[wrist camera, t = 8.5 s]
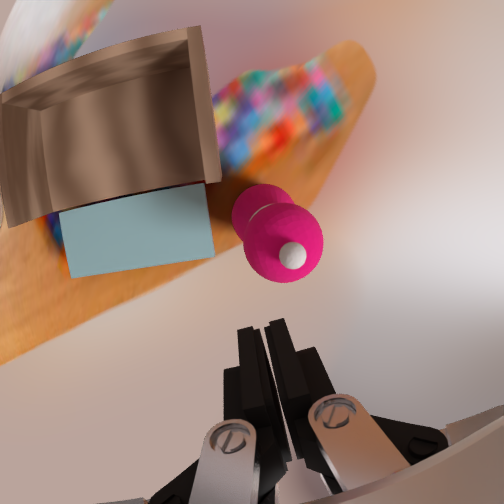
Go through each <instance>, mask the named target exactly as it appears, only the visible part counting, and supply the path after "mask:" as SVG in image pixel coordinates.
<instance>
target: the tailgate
mask: <svg viewBox="0 0 504 504" xmlns="http://www.w3.org/2000/svg"><path fill="white" fill-rule="evenodd" d="M59 218H60V224H61V230H62V236H63V241H64V246H65V251H66V256H67V261H68V266H69V270H70V274H71V278H77V277H84V276H91V275H97V274H104V273H110V272H117V271H124V270H130V269H137V268H144V267H150V266H157V265H163V264H170V263H177V262H183V261H190V260H197V259H203V258H210V257H215V250H214V243H213V237H212V231H211V224H210V218H209V211H208V204H207V198H206V191H205V184H204V183H200V184H194V185H188V186H182V187H177V188H171V189H166V190H160V191H155V192H150V193H145V194H140V195H135V196H130V197H125V198H121V199H116V200H111V201H107V202H103V203H98V204H94V205H90V206H85V207H81V208H77V209H73V210H69V211H65V212H61V213H59Z"/></svg>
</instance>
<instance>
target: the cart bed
mask: <svg viewBox="0 0 504 504" xmlns="http://www.w3.org/2000/svg"><path fill="white" fill-rule="evenodd" d="M221 179H222V170H221V163H220V156H219V149H218V142H217V134H216V127H215V119H214V112H213V104H212V97H211V89H210V82H209V74H208V66H207V60H206V55H205V49H204V43H203V37H202V31H201V26H195V27H188V28H183V29H177V30H172V31H168V32H163V33H158V34H154V35H150V36H145V37H141V38H137V39H134V40H130V41H127V42H123V43H120V44H116V45H113V46H110V47H107V48H103V49H100V50H97V51H95V52H92V53H89V54H86V55H83V56H81V57H78V58H75V59H73V60H70V61H68V62H65V63H63V64H60V65H58V66H56V67H53V68H51V69H49V70H47V71H44V72H42V73H40V74H38V75H36V76H34V77H32V78H30V79H28V80H26V81H24V82H22V83H20V84H18V85H16V86H14V87H12V88H10V89H9V90H7V91H5V92H3V93H1V94H0V185H1V192H2V198H3V204H4V209H5V214H6V219H7V224H8V228H11V227H15V226H18V225H20V224H23V223H25V222H28V221H30V220H33V219H36V218H38V217H41V216H44V215H46V214H49V213H52V212H55V211H59V210H63V209H67V208H71V207H75V206H79V205H83V204H87V203H91V202H95V201H100V200H104V199H108V198H113V197H117V196H122V195H127V194H131V193H136V192H141V191H146V190H151V189H156V188H161V187H167V186H172V185H178V184H183V183H189V182H195V181H201V180H206V184H208V183H215V182H221Z"/></svg>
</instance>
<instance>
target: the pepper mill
mask: <svg viewBox="0 0 504 504" xmlns="http://www.w3.org/2000/svg"><path fill="white" fill-rule="evenodd" d="M232 224H233V227H234V229H235V231H236V233H237V235H238V236H239V238H240V239H241V240H242V241H243V246H244V252H245V255H246V258H247V260H248V262H249V264H250V265H251V267H252V268H253V269H254V270H255V271H256V272H257V273H258V274H259V275H261V276H262V277H264V278H265V279H268V280H270V281H274V282H279V283H288V282H293V281H296V280H299V279H301V278H303V277H305V276H306V275H308V274H309V273H310V272H311V271H312V270H313V269H314V268H315V267H316V265H317V264H318V262H319V260H320V258H321V255H322V251H323V235H322V230H321V228H320V226H319V223H318V222H317V220H316V219H315V218H314V216H312V214H310V212H309V211H307V210H306V209H304V208H302V207H300V206H298V205H295V204H294V202H293V200H292V199H291V197H290V196H289V195H288V194H287V193H286V192H285V191H284V190H282V189H281V188H279V187H277V186H274V185H270V184H259V185H255V186H252V187H250V188H248V189H246V190H245V191H244V192H242V193H241V194H240V196H239V197H238V198H237V200H236V201H235V203H234V206H233V210H232Z"/></svg>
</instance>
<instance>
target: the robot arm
mask: <svg viewBox="0 0 504 504" xmlns="http://www.w3.org/2000/svg"><path fill="white" fill-rule="evenodd" d="M2 214H3V209H2V198H1V194H0V227H1V223H2ZM269 324H270V326H267V327H264V330H265V334H266V339H267V343H268V348H269V353H270V357H271V362H272V366H273V371H274V375H275V380H276V384H277V388H276V385H275V381H274V378H273V375H272V371H271V367H270V364H269V360H268V357H267V353H266V350H265V346H264V343H263V340H262V336H261V333H260V329H256V330H254V329H253V327H252V326H251V327H247V328H243V329H239V330H237V332H238V349H239V364H240V366H237V367H233V368H229V369H224V421H223V422H221V423H218V424H216V425H215V426H213V427H212V428H211V429H210V430H209V431H208V433H207V434H206V436H205V438H204V442H203V447H202V450H201V455H200V458H199V459H198V460H197V461H195V462H194V463H193V464H192V465H191V466H189V467H188V468H187V469H186V470H184V471H183V472H182V473H181V474H180V475H178V476H177V477H176V478H175V479H173V480H172V481H171V482H170V483H168V484H167V485H166V486H164V487H163V488H162V489H160V490H159V491H158V492H157V493H155V494H154V495H153V496H152V497H151V499H148V500H145V499H144V498H137V499H131V500H124V501H117V502H108V503H99V504H279V484H278V481H279V480H280V479H281V478H282V477H283V476H284V475H285V473H286V471H288V469H287V465H286V462H290V461H292V457H291V452H290V448H289V443H288V439H287V434H286V430H285V425H284V421H283V416H282V411H281V406H280V402H279V398H280V401H281V405H282V409H283V412H284V416H285V419H286V423H287V426H288V429H289V432H290V436H291V439H292V443H293V446H294V449H295V452H296V456H297V459H302V458H304V459H305V463H306V467H307V468H309V469H311V470H313V471H316V472H319V473H320V476H321V478H322V480H323V482H324V484H325V486H326V488H327V489H328V492H329V493H330V495H331V496H328V497H325V498H321V499H318V500H314V501H310V502H306V503H302V504H504V405H501V406H497V407H494V408H492V409H489V410H487V411H484V412H481V413H479V414H476V415H474V416H471V417H468V418H465V419H462V420H459V421H456V422H453V423H450V424H447V425H446V426H445V428H444V429H441V430H438V429H434V428H431V427H426V426H420V425H415V424H410V423H405V422H400V421H395V420H390V419H386V418H381V417H377V416H373V415H369V413H368V412H367V411H366V410H365V408H364V407H363V406H362V404H361V403H360V402H359V401H358V400H357V399H356V398H354V397H352V396H350V395H347V394H336V392H335V390H334V388H333V386H332V383H331V381H330V379H329V377H328V374H327V372H326V370H325V368H324V365H323V363H322V361H321V359H320V357H319V354H318V352H317V350H316V348H315V347H311V348H307V349H304V350H300V351H297V352H296V351H295V349H294V346H293V343H292V340H291V337H290V335H289V331H288V329H287V326H286V323H285V320H284V318H282V319H278V320H274V321H271V322H269ZM277 389H278V393H279V397H278V393H277Z"/></svg>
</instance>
